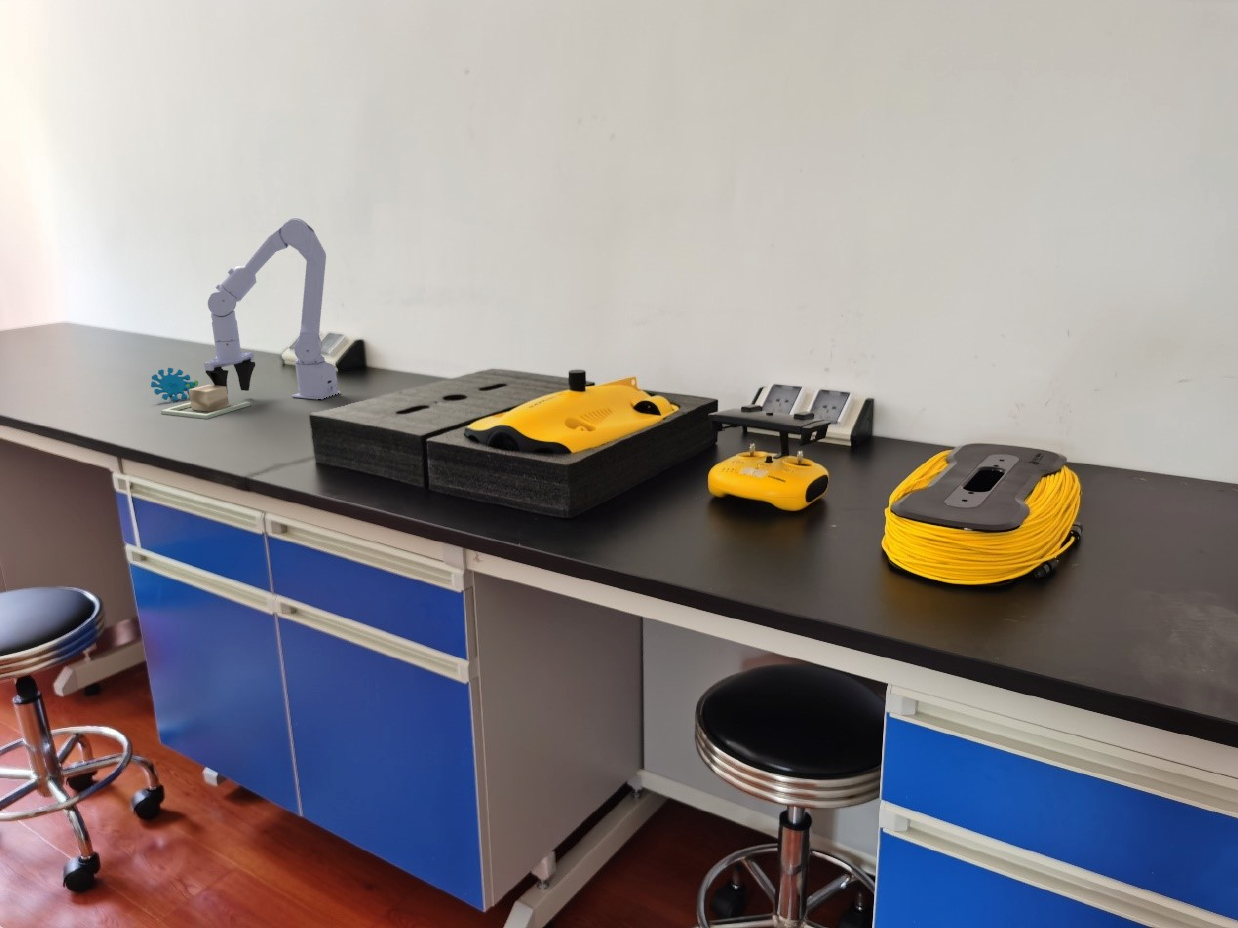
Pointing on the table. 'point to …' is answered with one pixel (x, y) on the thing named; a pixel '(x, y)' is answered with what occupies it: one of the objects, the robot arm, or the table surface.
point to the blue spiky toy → (172, 384)
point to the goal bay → (199, 415)
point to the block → (209, 398)
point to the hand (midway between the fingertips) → (234, 393)
